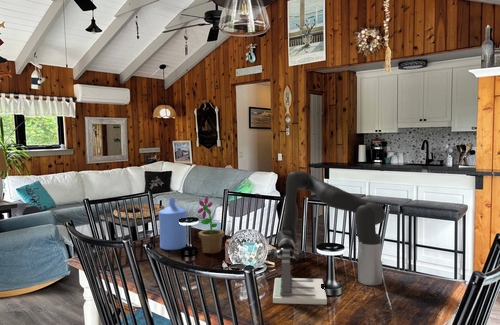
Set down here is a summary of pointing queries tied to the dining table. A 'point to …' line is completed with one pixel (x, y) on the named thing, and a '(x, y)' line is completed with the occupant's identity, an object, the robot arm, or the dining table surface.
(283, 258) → the middle lever
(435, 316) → the dining table surface
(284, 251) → the lever
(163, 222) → the water jug
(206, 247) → the flowerpot
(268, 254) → the washcloth
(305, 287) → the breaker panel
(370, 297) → the dining table surface
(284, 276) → the near lever
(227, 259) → the soda can
